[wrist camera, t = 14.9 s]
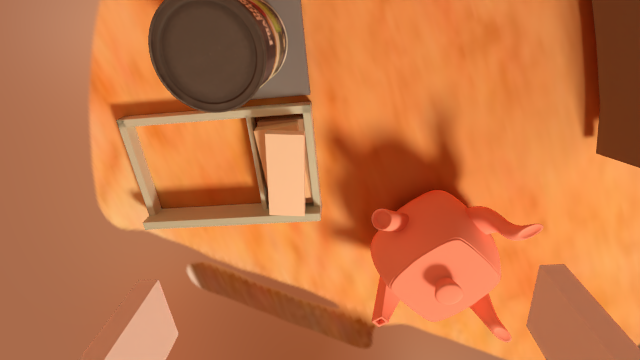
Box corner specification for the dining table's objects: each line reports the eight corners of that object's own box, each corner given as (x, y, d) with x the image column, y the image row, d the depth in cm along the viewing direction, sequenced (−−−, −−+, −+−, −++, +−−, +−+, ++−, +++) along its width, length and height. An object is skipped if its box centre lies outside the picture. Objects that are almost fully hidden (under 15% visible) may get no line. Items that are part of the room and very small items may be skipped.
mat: (179, -17, 41) (177, -17, 41) (297, -30, 40) (296, -31, 39) (206, 102, 47) (205, 103, 47) (310, 93, 46) (309, 94, 45)
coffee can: (239, -27, 40) (192, -46, 27) (305, 40, 43) (291, 53, 30) (187, 42, 43) (124, 55, 31) (252, 101, 46) (219, 135, 33)
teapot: (496, 174, 49) (549, 229, 37) (476, 276, 57) (515, 350, 45) (366, 176, 51) (375, 230, 38) (364, 276, 59) (371, 348, 46)
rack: (124, 116, 49) (101, 127, 44) (311, 101, 46) (307, 111, 42) (157, 215, 55) (141, 234, 51) (321, 206, 53) (320, 225, 48)
